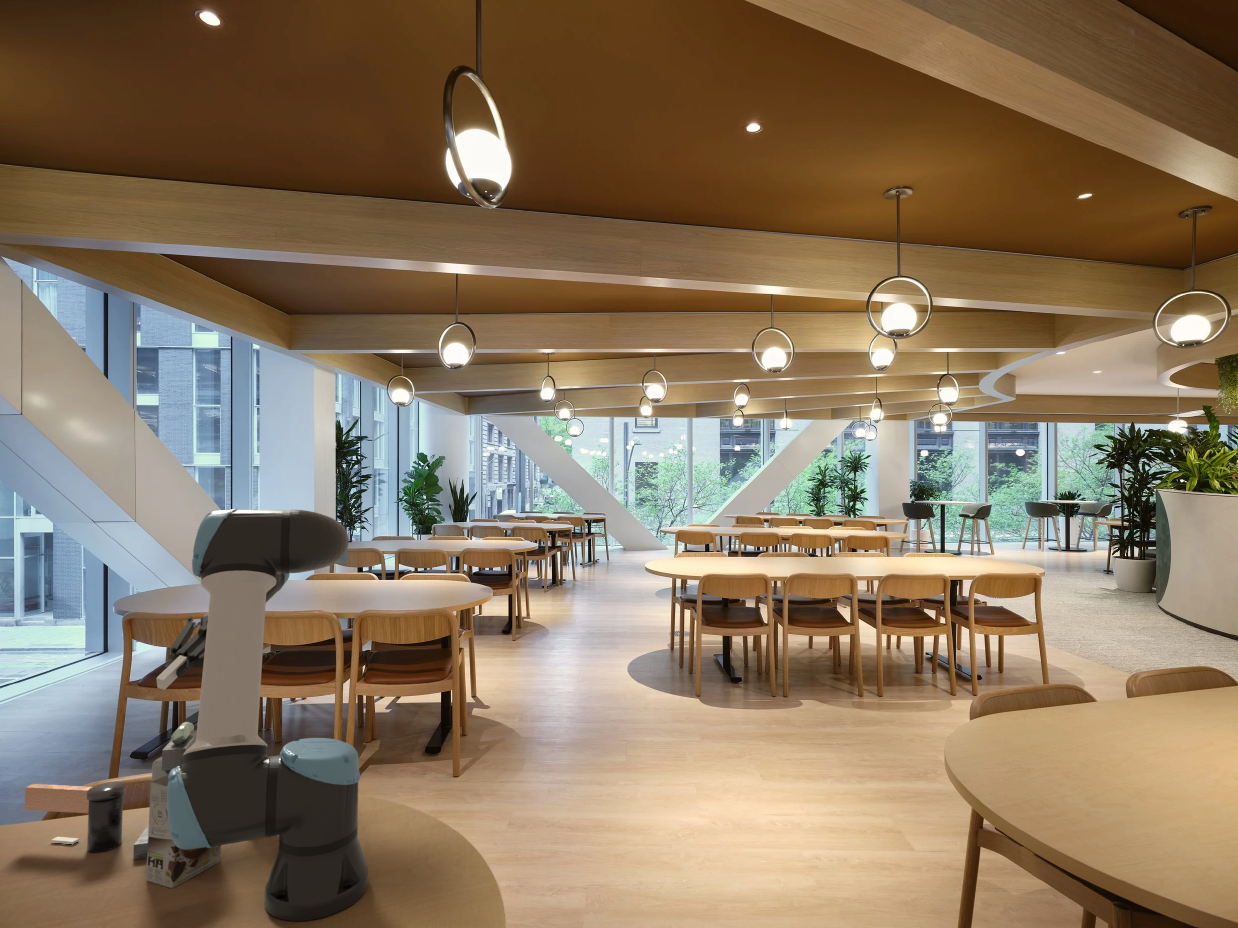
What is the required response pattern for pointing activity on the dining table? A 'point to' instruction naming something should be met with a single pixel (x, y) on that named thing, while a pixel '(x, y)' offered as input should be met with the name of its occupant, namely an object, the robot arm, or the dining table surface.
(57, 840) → the index mark
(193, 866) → the coffee box
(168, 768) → the level instrument
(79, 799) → the wooden-handled mallet
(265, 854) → the dining table surface
